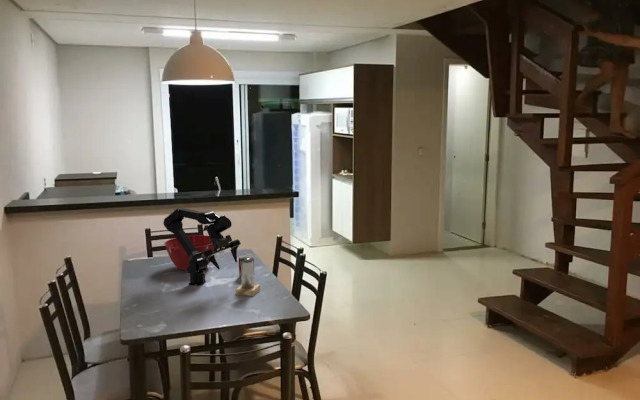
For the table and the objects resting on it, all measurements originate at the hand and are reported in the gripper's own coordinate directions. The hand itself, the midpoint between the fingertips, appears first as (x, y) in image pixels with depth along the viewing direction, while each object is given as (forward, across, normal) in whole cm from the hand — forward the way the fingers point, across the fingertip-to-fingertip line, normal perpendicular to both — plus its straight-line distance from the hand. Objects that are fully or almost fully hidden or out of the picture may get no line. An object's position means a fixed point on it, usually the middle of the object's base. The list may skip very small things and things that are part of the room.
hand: (228, 265), depth 248 cm
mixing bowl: (-10, -3, +48) cm, 49 cm away
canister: (+13, +4, -2) cm, 14 cm away
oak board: (+15, +4, 0) cm, 16 cm away
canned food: (+8, +14, +20) cm, 26 cm away
